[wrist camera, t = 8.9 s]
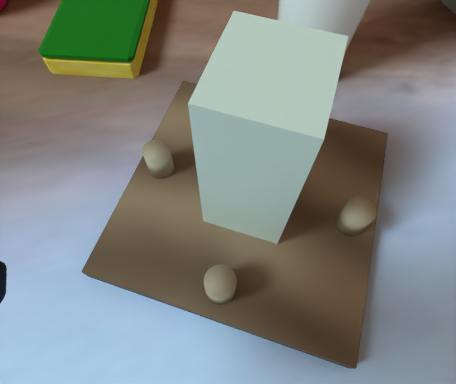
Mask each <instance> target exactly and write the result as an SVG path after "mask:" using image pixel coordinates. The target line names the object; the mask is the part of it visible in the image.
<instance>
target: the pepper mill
mask: <svg viewBox="0 0 456 384" xmlns="http://www.w3.org/2000/svg"><path fill="white" fill-rule="evenodd" d="M6 3H7V0H0V11H1V10H2V9H3V8H4V6H5V5H6Z"/></svg>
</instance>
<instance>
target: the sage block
mask: <svg viewBox="0 0 456 384" xmlns="http://www.w3.org/2000/svg"><path fill="white" fill-rule="evenodd" d="M347 40H348V36H345V35H341V34H336V33H332V32H327V31H323V30H318V29H314V28H309V27H305V26H300V25H296V24H291V23H287V22H282V21H278V20H273V19H269V18H264V17H260V16H255V15H251V14H246V13H242V12H237V11H234V12H233V14H232V16H231V18H230V20H229V22H228V24H227V26H226V28H225V30H224V32H223V34H222V36H221V38H220V40H219V42H218V44H217V46H216V48H215V50H214V52H213V54H212V56H211V58H210V60H209V62H208V64H207V66H206V68H205V70H204V72H203V74H202V76H201V78H200V80H199V82H198V84H197V86H196V88H195V90H194V92H193V94H192V96H191V98H190V100H189V102H188V108H189V116H190V124H191V131H192V139H193V147H194V154H195V162H196V170H197V177H198V185H199V193H200V200H201V208H202V216H203V221H205V222H208V223H211V224H214V225H218V226H221V227H224V228H227V229H231V230H234V231H237V232H240V233H243V234H247V235H250V236H253V237H256V238H260V239H263V240H266V241H269V242H272V243H276V244H277V243H278V241H279V239H280V237H281V234H282V232H283V230H284V228H285V225H286V223H287V221H288V219H289V217H290V214H291V212H292V210H293V208H294V205H295V203H296V201H297V199H298V196H299V194H300V192H301V190H302V188H303V185H304V183H305V181H306V179H307V176H308V174H309V172H310V170H311V167H312V165H313V163H314V161H315V159H316V156H317V154H318V152H319V150H320V147H321V145H322V143H323V141H324V138H325V133H326V129H327V125H328V121H329V117H330V112H331V108H332V104H333V100H334V95H335V91H336V87H337V83H338V78H339V74H340V70H341V66H342V61H343V57H344V53H345V49H346V45H347Z"/></svg>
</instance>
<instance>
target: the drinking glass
mask: <svg viewBox="0 0 456 384" xmlns="http://www.w3.org/2000/svg"><path fill="white" fill-rule="evenodd" d="M370 2H371V0H279V5H278V19H277V20H278V21H282V22H287V23H291V24H296V25H300V26H305V27H309V28H314V29H318V30H323V31H327V32H332V33H336V34H341V35H345V36H348V40H347V45H346V49H345V52H346V50H347V48H348V46H349V44H350V42H351V40H352V38H353V36H354V34H355V32H356V30H357V28H358V26H359V24H360V22H361V20H362V18H363V16H364V14H365V12H366V10H367V8H368V6H369V4H370ZM344 55H345V53H344Z"/></svg>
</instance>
